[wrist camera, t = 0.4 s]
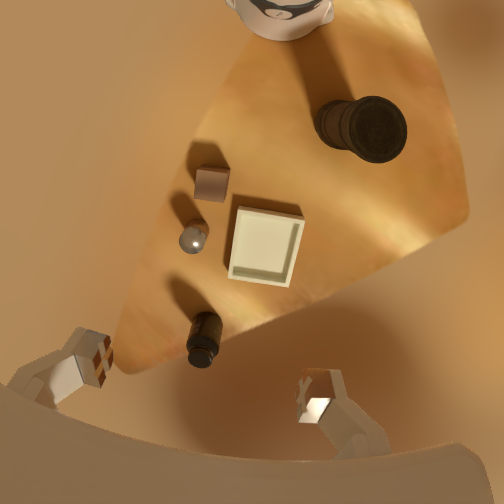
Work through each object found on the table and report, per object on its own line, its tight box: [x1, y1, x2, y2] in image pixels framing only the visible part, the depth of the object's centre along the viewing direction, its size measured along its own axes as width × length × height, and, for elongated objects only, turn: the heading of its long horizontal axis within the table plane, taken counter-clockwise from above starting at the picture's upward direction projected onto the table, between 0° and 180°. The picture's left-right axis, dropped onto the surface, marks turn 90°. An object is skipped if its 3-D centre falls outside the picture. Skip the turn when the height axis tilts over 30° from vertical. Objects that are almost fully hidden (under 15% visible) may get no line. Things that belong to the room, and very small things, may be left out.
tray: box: [228, 205, 305, 287], centre depth 56 cm, size 14×12×2 cm
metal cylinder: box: [179, 219, 209, 254], centre depth 54 cm, size 4×4×6 cm
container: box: [315, 96, 407, 163], centre depth 39 cm, size 9×9×18 cm
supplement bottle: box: [186, 312, 223, 368], centre depth 61 cm, size 7×7×12 cm
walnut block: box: [194, 165, 230, 203], centre depth 50 cm, size 5×5×5 cm
